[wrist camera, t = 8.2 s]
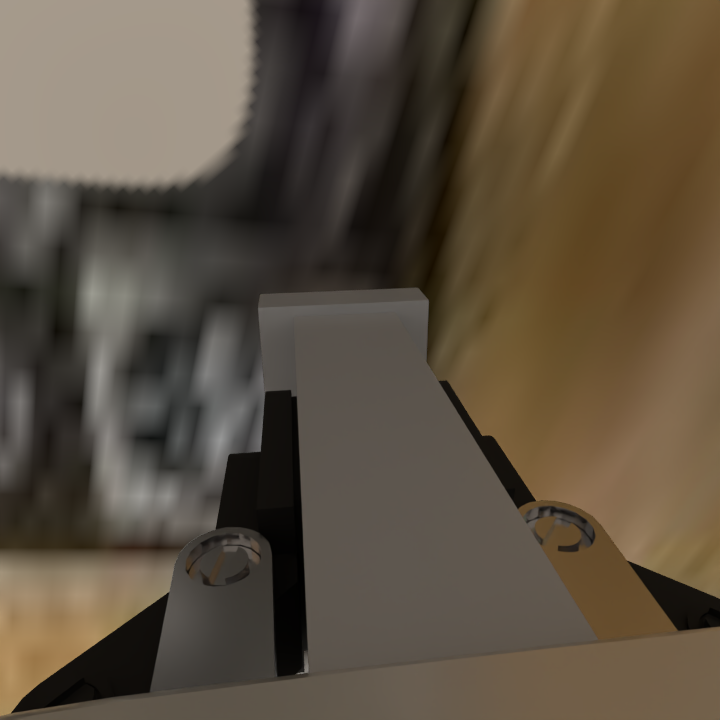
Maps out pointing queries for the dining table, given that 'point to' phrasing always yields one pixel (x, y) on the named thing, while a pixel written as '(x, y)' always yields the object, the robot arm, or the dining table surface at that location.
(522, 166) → the dining table surface
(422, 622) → the grey parking meter
